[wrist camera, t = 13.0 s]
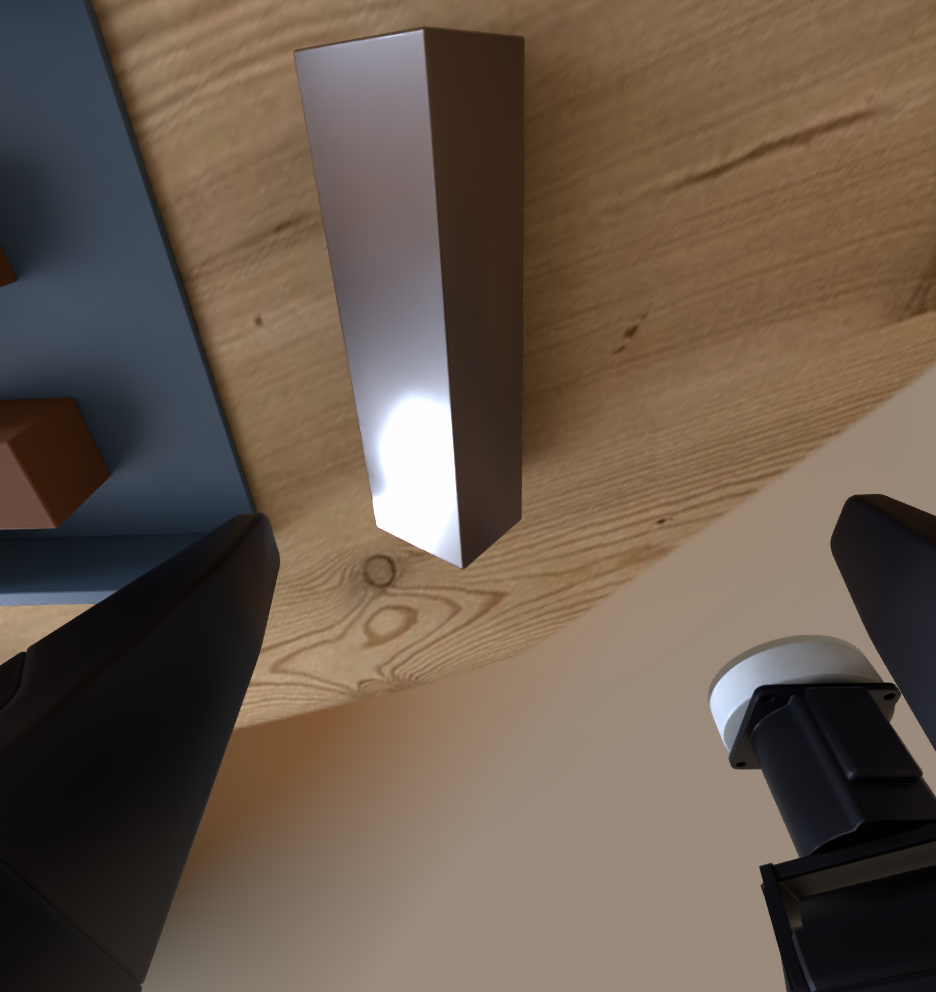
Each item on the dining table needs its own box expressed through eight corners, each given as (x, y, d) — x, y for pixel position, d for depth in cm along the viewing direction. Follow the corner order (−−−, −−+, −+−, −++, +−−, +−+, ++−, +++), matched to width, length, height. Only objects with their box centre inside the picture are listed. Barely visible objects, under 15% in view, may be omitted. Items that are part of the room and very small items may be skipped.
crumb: (58, 529, 17) (-38, 531, 17) (111, 476, 19) (28, 478, 20) (8, 442, 15) (-98, 445, 15) (73, 396, 18) (-18, 400, 18)
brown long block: (539, 504, 18) (463, 571, 16) (455, 472, 20) (376, 527, 18) (552, 38, 12) (424, 25, 9) (425, 56, 14) (291, 49, 11)
